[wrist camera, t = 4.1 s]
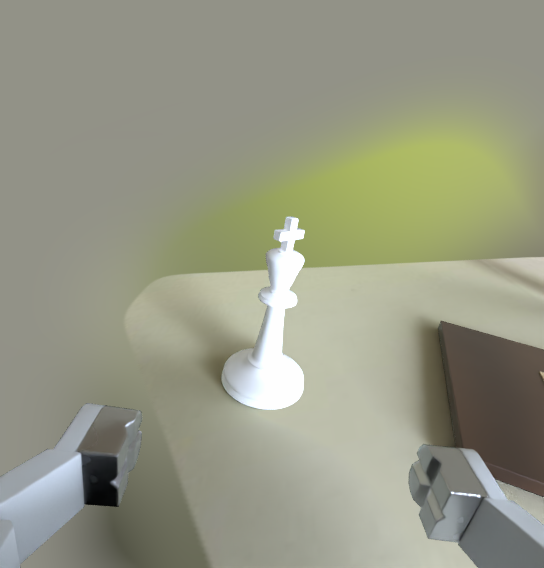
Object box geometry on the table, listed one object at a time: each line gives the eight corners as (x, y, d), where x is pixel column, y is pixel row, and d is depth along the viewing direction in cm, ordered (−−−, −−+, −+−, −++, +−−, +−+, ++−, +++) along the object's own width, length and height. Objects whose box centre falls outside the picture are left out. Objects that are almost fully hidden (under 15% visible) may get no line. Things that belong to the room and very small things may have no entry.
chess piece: (319, 390, 22) (361, 229, 18) (257, 423, 19) (292, 237, 15) (266, 348, 25) (292, 204, 21) (205, 371, 22) (222, 206, 18)
